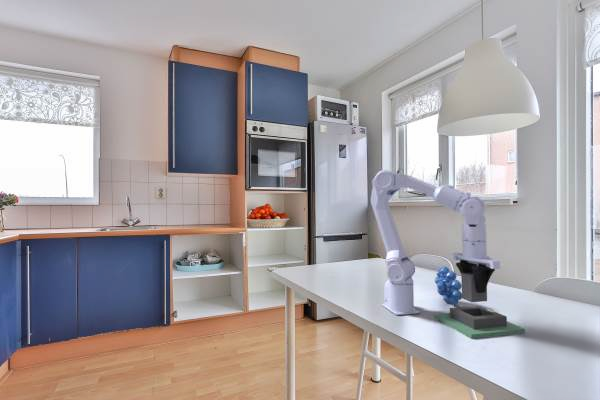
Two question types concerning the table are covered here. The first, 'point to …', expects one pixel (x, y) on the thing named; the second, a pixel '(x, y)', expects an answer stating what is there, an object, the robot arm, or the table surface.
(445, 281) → the grapes
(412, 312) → the robot arm
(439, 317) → the board
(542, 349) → the table surface
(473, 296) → the plug
